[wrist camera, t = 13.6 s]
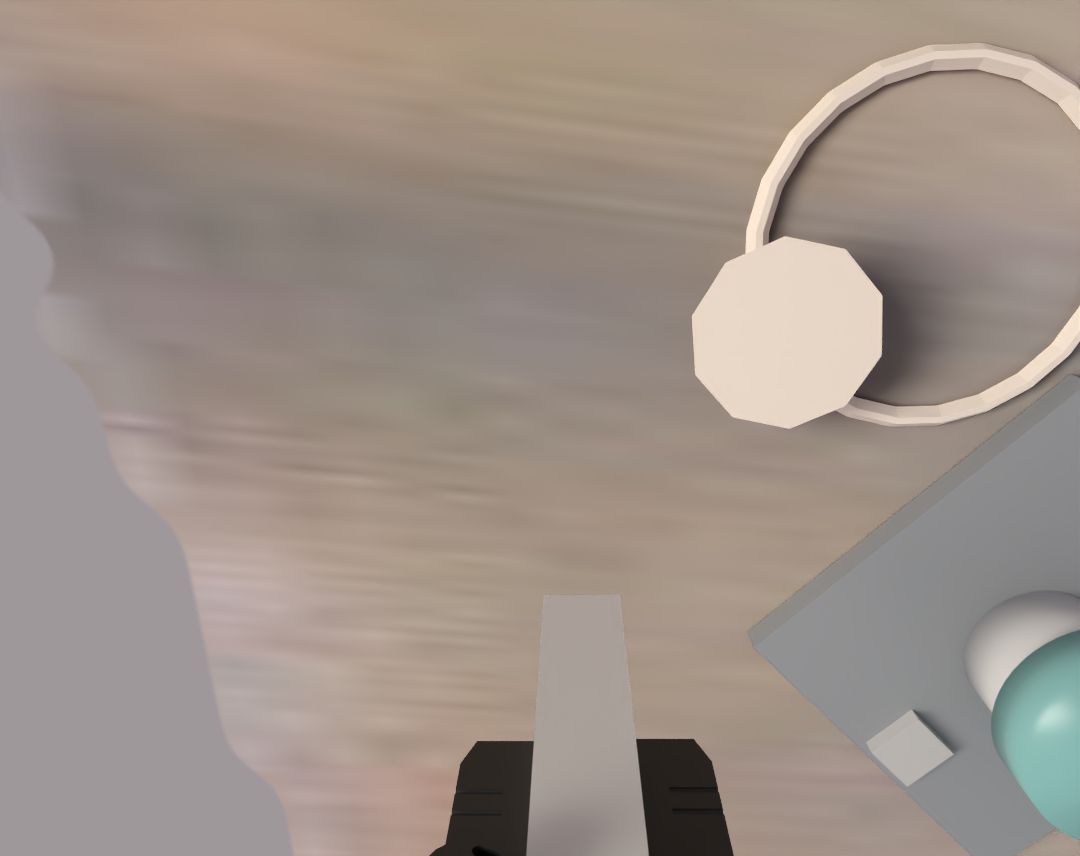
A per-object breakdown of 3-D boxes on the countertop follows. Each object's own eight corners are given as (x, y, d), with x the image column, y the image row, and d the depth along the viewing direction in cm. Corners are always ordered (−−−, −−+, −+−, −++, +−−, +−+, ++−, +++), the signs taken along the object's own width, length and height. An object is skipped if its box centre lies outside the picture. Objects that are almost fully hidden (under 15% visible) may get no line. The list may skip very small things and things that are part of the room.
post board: (1070, 374, 38) (1167, 412, 32) (1325, 675, 43) (1454, 761, 36) (747, 631, 43) (777, 709, 37) (1006, 880, 47) (1073, 986, 41)
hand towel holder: (1228, 359, 34) (762, 539, 37) (1155, 338, 38) (742, 501, 41) (1140, -58, 29) (618, 187, 32) (1069, -30, 34) (611, 185, 37)
